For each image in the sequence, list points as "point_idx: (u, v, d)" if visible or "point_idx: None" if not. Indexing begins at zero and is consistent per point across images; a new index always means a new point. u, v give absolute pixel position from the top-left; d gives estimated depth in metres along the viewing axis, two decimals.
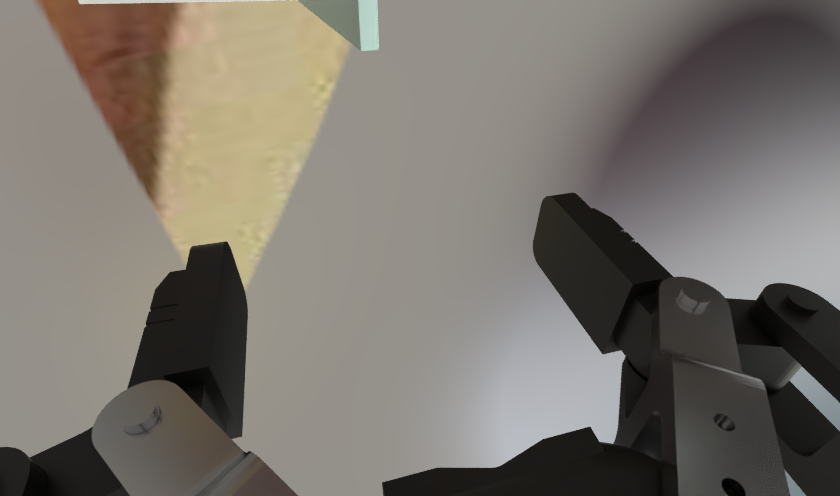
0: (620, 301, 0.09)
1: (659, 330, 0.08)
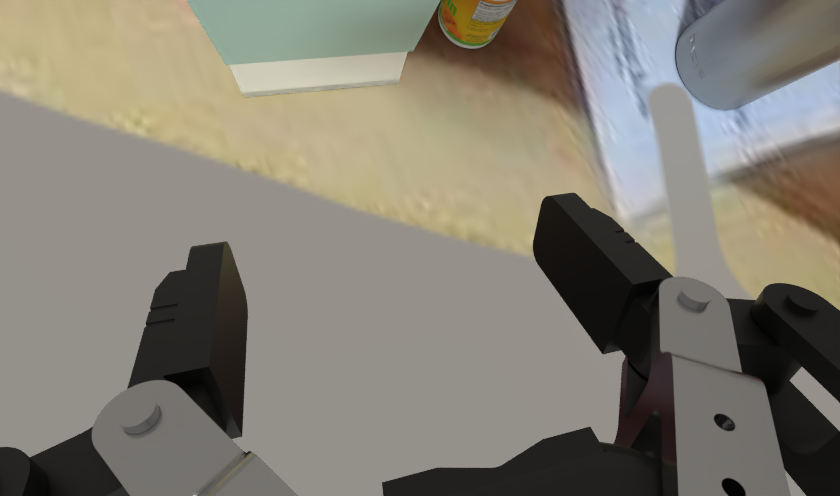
0: (620, 301, 0.09)
1: (659, 330, 0.08)
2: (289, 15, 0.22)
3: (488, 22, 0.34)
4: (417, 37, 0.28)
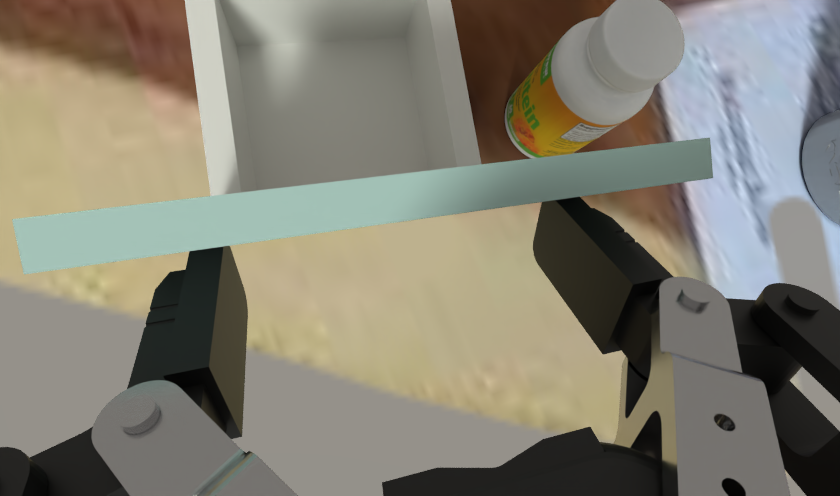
0: (620, 301, 0.09)
1: (659, 330, 0.08)
2: None
3: (583, 141, 0.24)
4: None
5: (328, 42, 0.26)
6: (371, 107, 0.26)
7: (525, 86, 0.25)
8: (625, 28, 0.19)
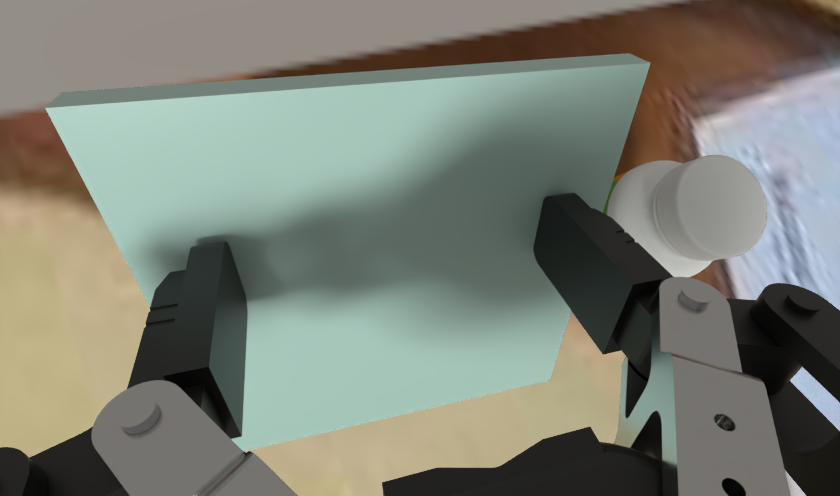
0: (620, 301, 0.09)
1: (659, 330, 0.08)
2: (334, 302, 0.12)
3: None
4: (556, 343, 0.16)
5: None
6: None
7: None
8: (701, 198, 0.17)
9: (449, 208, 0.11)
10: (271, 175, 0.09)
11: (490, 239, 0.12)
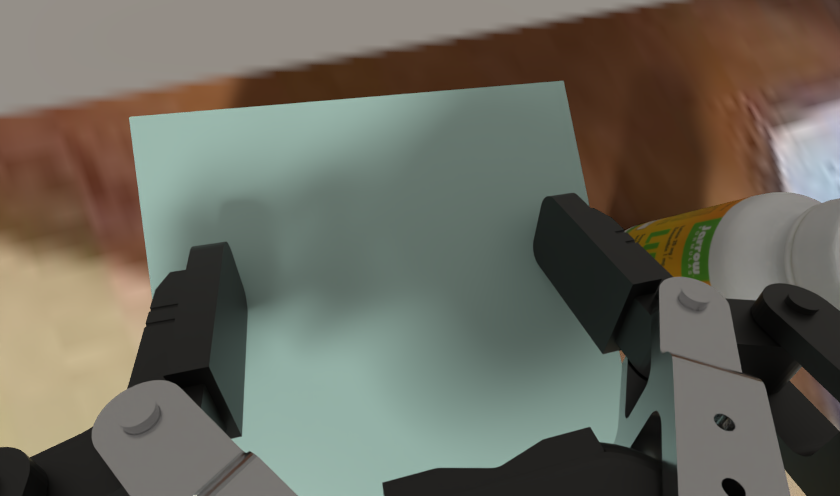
0: (620, 301, 0.09)
1: (659, 330, 0.08)
2: (338, 315, 0.11)
3: None
4: None
5: None
6: None
7: None
8: None
9: (437, 203, 0.12)
10: (280, 168, 0.12)
11: (487, 239, 0.12)
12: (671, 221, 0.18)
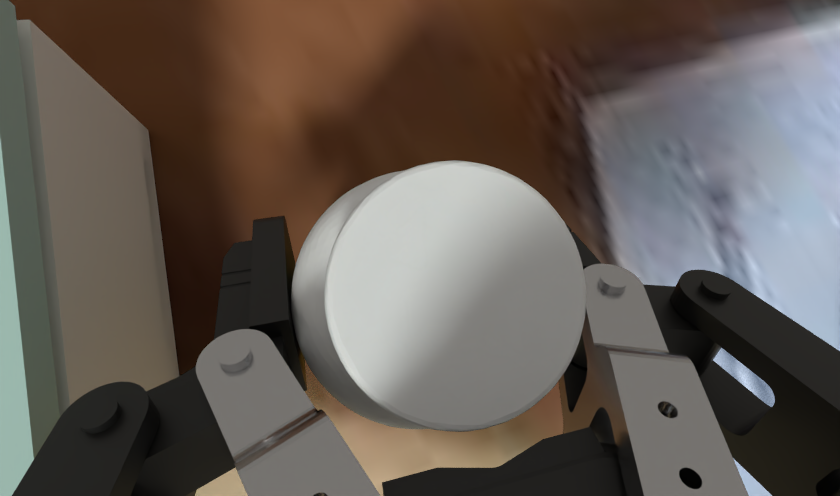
0: None
1: (589, 323, 0.08)
2: None
3: None
4: None
5: None
6: None
7: None
8: (398, 276, 0.06)
9: None
10: None
11: None
12: None
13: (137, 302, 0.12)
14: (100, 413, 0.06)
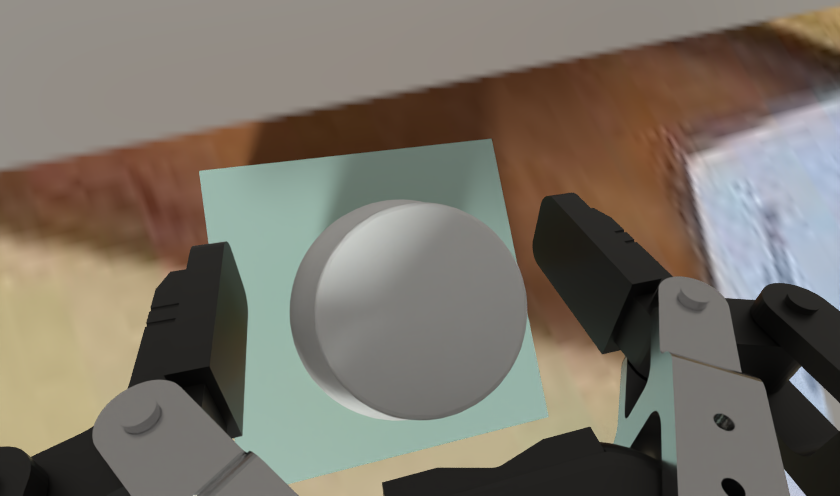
0: (620, 301, 0.09)
1: (658, 330, 0.08)
2: None
3: None
4: (533, 362, 0.18)
5: None
6: None
7: None
8: (373, 297, 0.08)
9: None
10: (296, 203, 0.17)
11: None
12: None
13: None
14: None
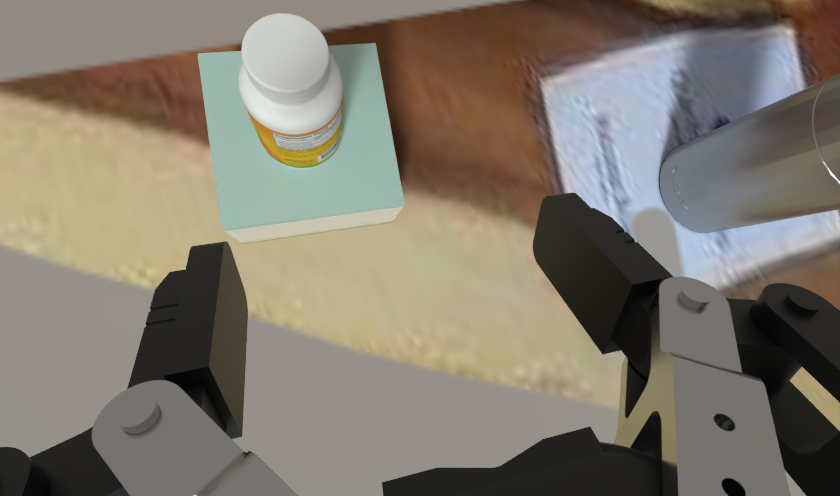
0: (620, 301, 0.09)
1: (659, 330, 0.08)
2: None
3: (301, 150, 0.26)
4: (396, 172, 0.31)
5: None
6: None
7: None
8: (264, 44, 0.20)
9: None
10: None
11: None
12: None
13: None
14: None
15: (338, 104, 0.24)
